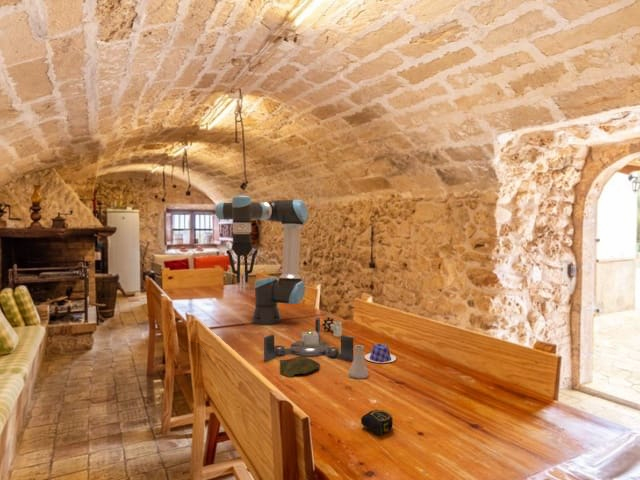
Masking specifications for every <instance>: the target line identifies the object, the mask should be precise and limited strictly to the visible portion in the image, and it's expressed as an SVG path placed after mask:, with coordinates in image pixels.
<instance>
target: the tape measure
mask: <svg viewBox="0 0 640 480" xmlns="http://www.w3.org/2000/svg"><path fill="white" fill-rule="evenodd" d="M360 421H361V425H362V426H363V427H365V428H366V429H368V430H370V431H371V432H374V433H375V434H376V435H378V436H383V435H384V434H386V433H388V432H391V430H392V428H393V417H392V414H390V413H389V412H388V411H385V410H382V409H379V410H378V409H375V410H374V409H373V410H370V411H369V412H368V413H366V414H364V415H362V416H361V418H360Z"/></svg>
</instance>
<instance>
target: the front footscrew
mask: <svg viewBox="0 0 640 480" xmlns="http://www.w3.org/2000/svg"><path fill="white" fill-rule="evenodd" d="M285 349H286V348H285V346H284V345H275V334H270V335H267V336H264V337H263V362H269V361H270V360H273V359H275V358H277V357H283V356H285V355H286V354H285Z"/></svg>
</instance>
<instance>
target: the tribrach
mask: <svg viewBox="0 0 640 480" xmlns="http://www.w3.org/2000/svg"><path fill="white" fill-rule="evenodd" d="M285 355H294V356H297V357H306V358H309V357H310V358H311V357H312V358H313V357H315V358H316V357H320V356H321V357H322V356H326V357H328V358H330V359H339V360H344V361H348V362H350V363H352V362H353V359H354V337H353V336H349V335H344V334H342V335H341V336H340V347H337V346H330V344H329V343H328V342H327V341H324V340H321V317H320V316H317V317H316V318H315V330H313V331H312V330H310V331H309V330H308V331H301V340H298V341H295V342H293V343H291V344H290V348H285Z"/></svg>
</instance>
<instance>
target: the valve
mask: <svg viewBox="0 0 640 480" xmlns="http://www.w3.org/2000/svg"><path fill="white" fill-rule="evenodd" d="M323 322H324V323H322V324H321V325H322V326H323V330H324V331H326V330H327V331H328V332H330V331H331V330H332V331H333V335H332V336H333V337H336V338H337V337H340V338H341V335H343V333H342V331H343V326H342V325H343V324H342V323H343V322H342V321H340V320H335V319H334V318H330V316H329V317H327V318H326V319H323Z"/></svg>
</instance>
